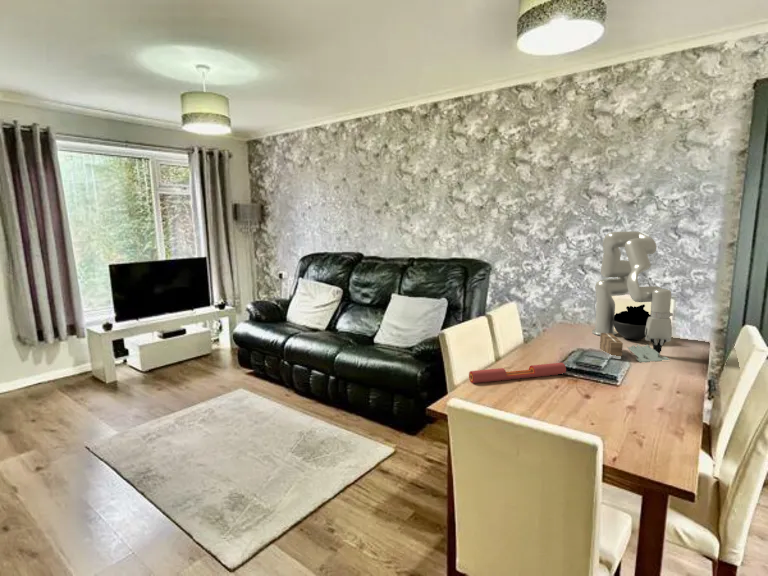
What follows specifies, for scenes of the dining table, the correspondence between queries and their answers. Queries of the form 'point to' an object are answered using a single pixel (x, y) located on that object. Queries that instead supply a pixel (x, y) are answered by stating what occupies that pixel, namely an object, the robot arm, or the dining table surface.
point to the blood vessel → (516, 373)
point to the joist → (611, 344)
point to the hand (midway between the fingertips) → (656, 352)
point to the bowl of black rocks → (631, 322)
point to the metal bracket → (646, 353)
